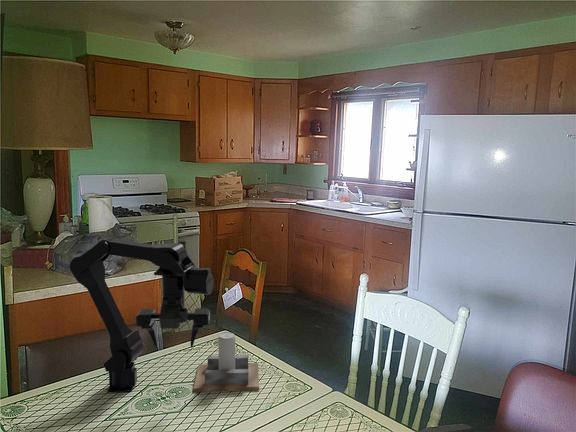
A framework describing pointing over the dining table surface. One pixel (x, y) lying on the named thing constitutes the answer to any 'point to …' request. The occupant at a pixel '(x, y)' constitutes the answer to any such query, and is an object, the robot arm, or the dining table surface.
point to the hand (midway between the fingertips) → (174, 347)
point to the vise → (227, 376)
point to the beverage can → (226, 351)
